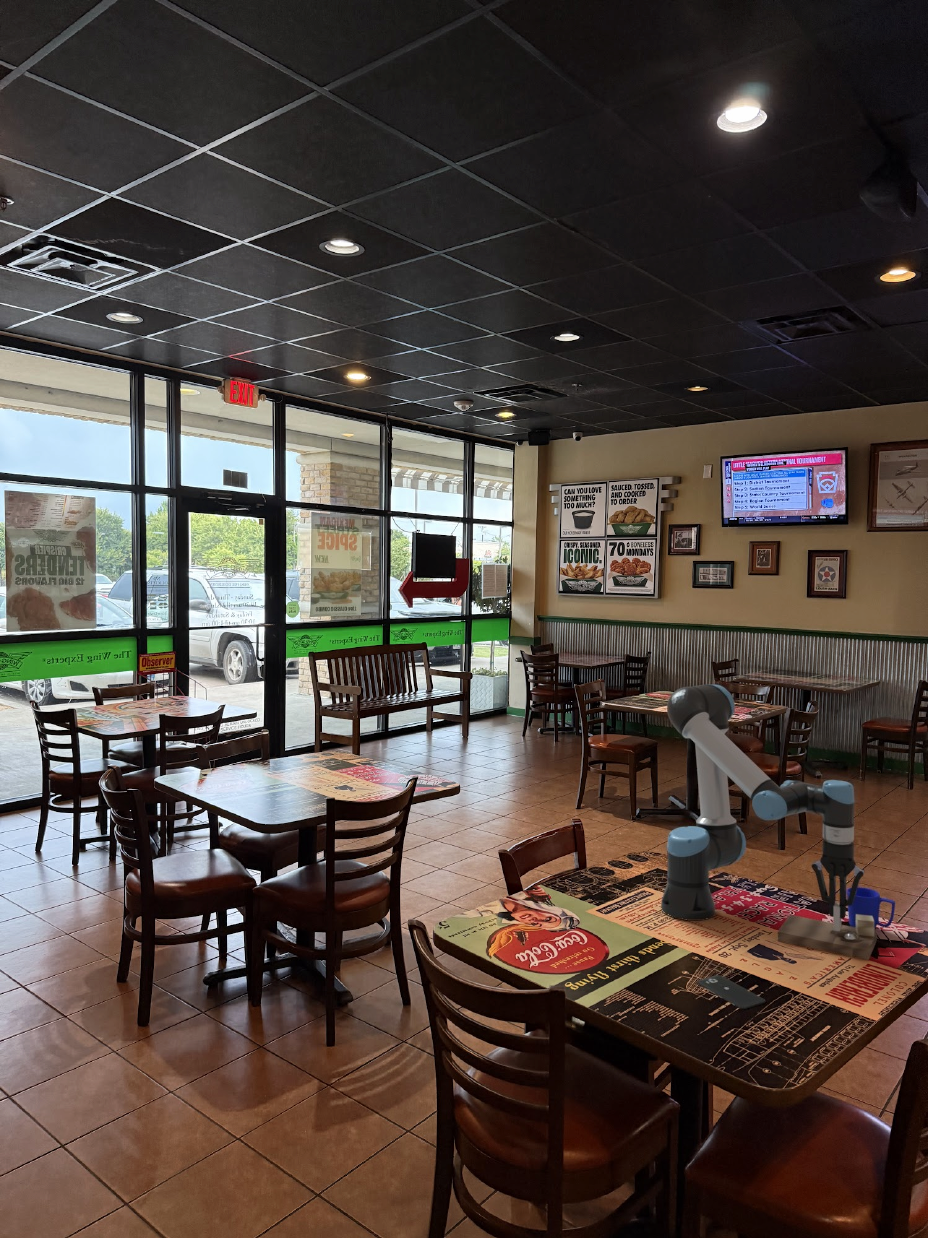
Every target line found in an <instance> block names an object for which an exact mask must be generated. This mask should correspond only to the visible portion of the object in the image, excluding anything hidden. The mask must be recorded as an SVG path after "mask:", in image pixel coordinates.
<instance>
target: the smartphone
mask: <svg viewBox="0 0 928 1238" xmlns="http://www.w3.org/2000/svg"><path fill="white" fill-rule="evenodd" d="M696 984H697V985H699V986H700V987H702V988H704V989H706V990H707V991H709V992H710V993H712V994H714V995H716V996H718V997H719V998H721V999H723V1000H725V1001H726V1002H728V1003H730V1004H732V1005H733V1006H735V1007H737V1008H739V1009H740V1010H747V1009H750V1008H753V1007H757V1006H759V1005H763V1004H765V1003H766V999H765V998H762V996H759V995H757V994H756V993H754V992H752V991H751V990H748V989H747V988H744V987H742V986H741V985H740V984H737V983H736V982H734V981H732V980H730V979H728V978H726V977H725V976H722V975H721V974H716V975H713V976H709V977H705V978H702V979H701V978H700V979H699V980H697V981H696Z"/></svg>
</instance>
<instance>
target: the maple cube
mask: <svg viewBox="0 0 928 1238" xmlns="http://www.w3.org/2000/svg"><path fill="white" fill-rule="evenodd" d="M874 931H875V930H874V919H873V917H872V916H868V915H858V914H856V932H857V935H864V936H873V937H874Z"/></svg>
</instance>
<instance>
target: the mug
mask: <svg viewBox="0 0 928 1238" xmlns="http://www.w3.org/2000/svg"><path fill="white" fill-rule="evenodd" d="M850 891H851V887H848V888H846V900H847V899H848V898H849V894H850ZM880 896H881V895H880V893H879V892H878V891H876V890H874V889H871V888H867V887H860V886H858V888H857V891H856V895H855V898H854V902H853V904H852V905H851V906H847V915H848V923H849V926H850V927H855V928H856V914H858V915H868V916H872V917H873V919H874V931H875V930H876V929H877V926H880V927H881V928H888V927H890V926H891V924H892V923H893V921H894V916H895V909H896V901H894V900H893V899H892V900H891V899H888V898H884V897H880ZM882 902H883V903H884V902H885V903H888V904H891V913H890V917H889V920H888V922H887V923H885V924H884V923H882V922H880V908H881V907H880V906H881V903H882Z"/></svg>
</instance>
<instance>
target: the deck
mask: <svg viewBox="0 0 928 1238" xmlns="http://www.w3.org/2000/svg"><path fill="white" fill-rule="evenodd" d="M848 933H851V934H853V935H854V936H855V937H856V938H857V939H844V936H845V935H846V934H848ZM877 933H878V932H877V931H875V930H874V937H873V936H864V935H857V932H856V928H855V927H851V926H850V925H844V924H841V930H840V931H834V930H833V922H829V921H825V920H819V919H814V918H810V917H809V918H808V917H803V916H798V915H793V914H789V915H788V916H787V918H786V919H785V920H784V922H783V923H782V925H781V926H780V928H779V929H778V931H777V942H781V943H785V944H789V945H795V946H800V947H804V948H810V949H813V950H818V951H822V952H829V953H832V954H836V955H837V954H838V955H841V956H846V957H851V958H855V959H856V958H857V959H860V960H865V961H869V960H870V959H871V955H872V953H873V951H874V948H875V945H876V943H877V938H878V936H877Z"/></svg>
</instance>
